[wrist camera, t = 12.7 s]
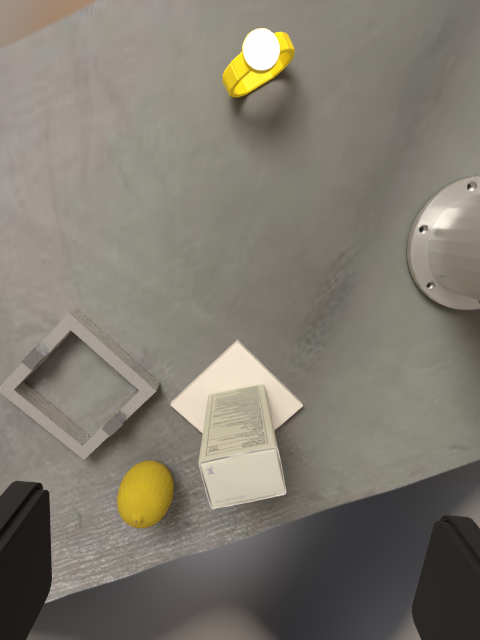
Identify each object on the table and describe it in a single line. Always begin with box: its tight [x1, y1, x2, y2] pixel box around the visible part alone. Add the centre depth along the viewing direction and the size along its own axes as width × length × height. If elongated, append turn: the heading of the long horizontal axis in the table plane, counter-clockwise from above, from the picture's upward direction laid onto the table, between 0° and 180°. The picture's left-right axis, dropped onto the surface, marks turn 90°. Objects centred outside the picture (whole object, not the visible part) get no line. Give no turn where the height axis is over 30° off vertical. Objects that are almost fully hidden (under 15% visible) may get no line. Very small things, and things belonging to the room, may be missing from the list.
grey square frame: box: [0, 309, 160, 460], centre depth 39 cm, size 11×11×3 cm
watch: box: [223, 28, 295, 98], centre depth 31 cm, size 6×3×6 cm, turn 119°
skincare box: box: [198, 384, 286, 509], centre depth 35 cm, size 6×4×12 cm
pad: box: [170, 340, 303, 433], centre depth 41 cm, size 10×10×1 cm
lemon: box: [117, 461, 174, 528], centre depth 39 cm, size 6×6×8 cm
